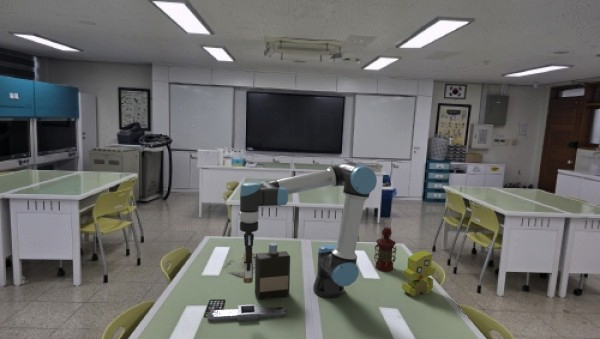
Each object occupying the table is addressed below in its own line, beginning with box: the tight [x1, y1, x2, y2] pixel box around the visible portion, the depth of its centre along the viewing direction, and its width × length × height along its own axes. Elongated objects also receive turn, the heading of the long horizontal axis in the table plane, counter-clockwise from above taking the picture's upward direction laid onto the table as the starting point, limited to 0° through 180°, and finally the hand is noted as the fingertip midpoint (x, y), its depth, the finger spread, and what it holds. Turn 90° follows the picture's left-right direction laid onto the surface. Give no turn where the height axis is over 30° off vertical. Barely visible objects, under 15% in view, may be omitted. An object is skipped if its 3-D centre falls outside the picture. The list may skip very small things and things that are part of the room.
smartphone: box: [203, 298, 226, 319], centre depth 161 cm, size 7×1×15 cm
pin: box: [242, 251, 254, 284], centre depth 153 cm, size 4×4×12 cm
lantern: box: [373, 216, 397, 273], centre depth 209 cm, size 12×12×30 cm
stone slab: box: [223, 253, 256, 278], centre depth 212 cm, size 27×33×1 cm
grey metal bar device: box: [207, 303, 287, 323], centre depth 155 cm, size 33×8×3 cm, turn 100°
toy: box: [401, 249, 436, 297], centre depth 181 cm, size 16×6×20 cm, turn 115°
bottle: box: [254, 242, 291, 300], centre depth 174 cm, size 8×16×25 cm, turn 106°
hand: (248, 275), depth 153 cm, fingers closed on pin, 4 cm apart
